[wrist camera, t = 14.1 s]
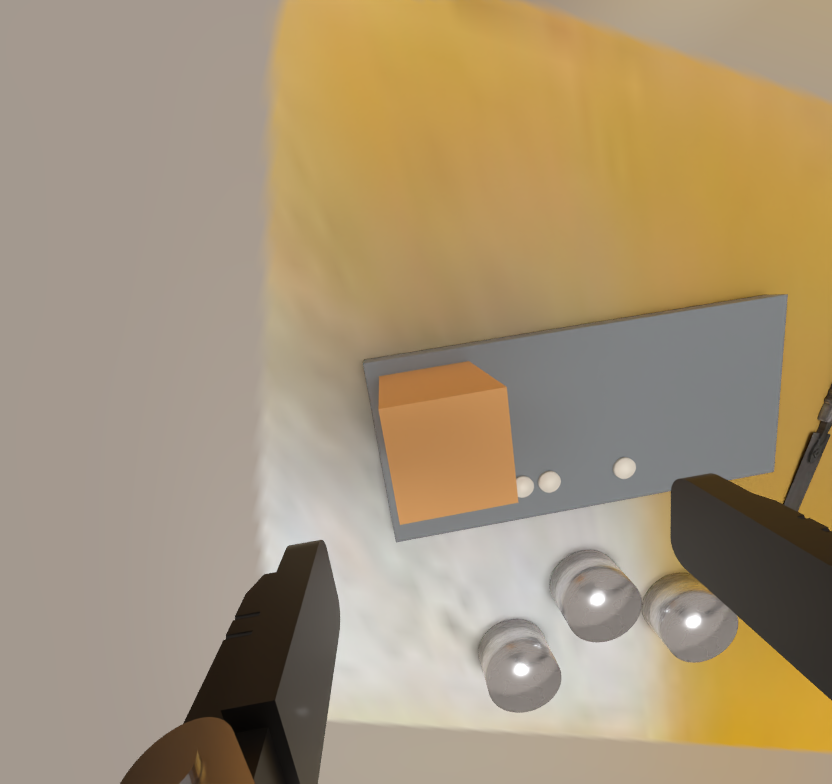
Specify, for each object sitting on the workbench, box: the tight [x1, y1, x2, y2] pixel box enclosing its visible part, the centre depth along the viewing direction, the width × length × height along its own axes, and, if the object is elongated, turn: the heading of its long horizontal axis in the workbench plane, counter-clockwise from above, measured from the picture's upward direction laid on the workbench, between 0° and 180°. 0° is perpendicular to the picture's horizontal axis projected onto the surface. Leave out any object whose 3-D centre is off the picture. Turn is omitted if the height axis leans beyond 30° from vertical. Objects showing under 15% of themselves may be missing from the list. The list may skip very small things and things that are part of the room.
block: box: [378, 361, 518, 525], centre depth 17 cm, size 4×4×6 cm
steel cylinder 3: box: [642, 573, 738, 662], centre depth 24 cm, size 4×4×2 cm
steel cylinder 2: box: [550, 550, 642, 642], centre depth 23 cm, size 4×4×2 cm
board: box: [363, 294, 788, 542], centre depth 21 cm, size 22×10×1 cm, turn 99°
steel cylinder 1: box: [478, 619, 561, 713], centre depth 24 cm, size 4×4×2 cm
